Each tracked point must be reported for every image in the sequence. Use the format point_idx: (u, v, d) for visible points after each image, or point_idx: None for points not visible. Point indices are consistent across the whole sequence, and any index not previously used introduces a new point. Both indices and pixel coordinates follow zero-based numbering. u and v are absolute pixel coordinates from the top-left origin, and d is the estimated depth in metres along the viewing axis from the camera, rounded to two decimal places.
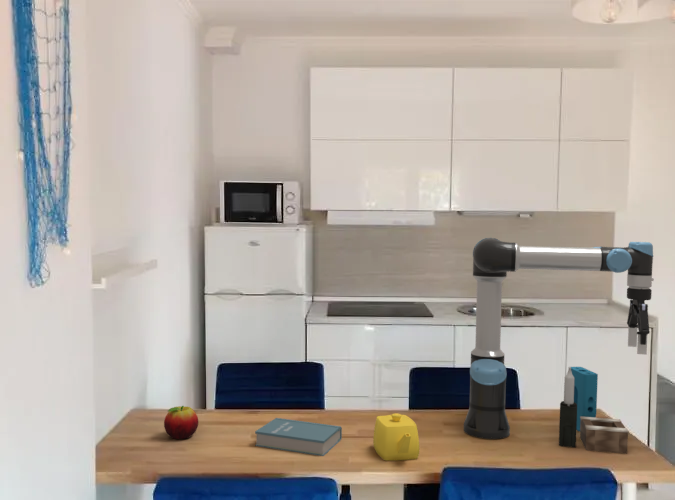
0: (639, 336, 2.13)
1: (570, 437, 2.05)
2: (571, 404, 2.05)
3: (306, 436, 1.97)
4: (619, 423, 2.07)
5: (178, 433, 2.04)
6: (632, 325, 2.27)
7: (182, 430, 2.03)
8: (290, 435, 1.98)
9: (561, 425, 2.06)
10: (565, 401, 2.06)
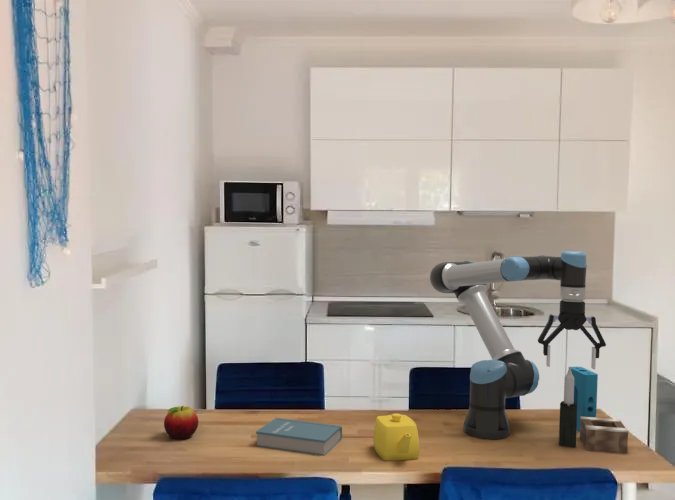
0: None
1: (570, 437, 2.05)
2: (571, 404, 2.05)
3: (307, 435, 1.98)
4: (619, 423, 2.07)
5: (178, 433, 2.04)
6: None
7: (182, 430, 2.03)
8: (291, 435, 1.98)
9: (561, 425, 2.06)
10: (565, 401, 2.06)
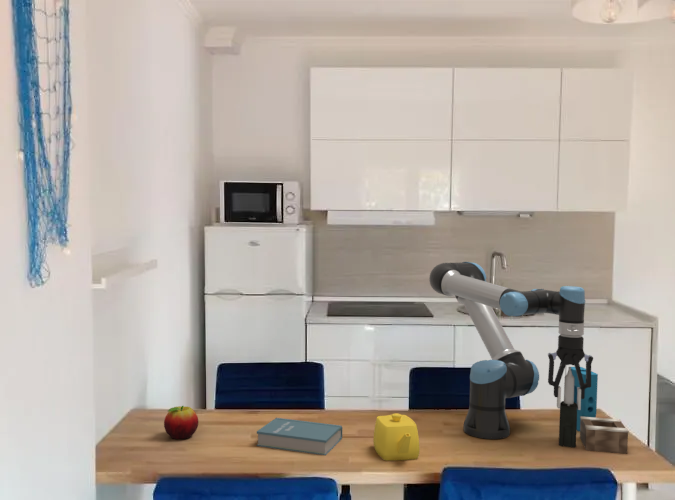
0: None
1: (570, 437, 2.05)
2: (571, 404, 2.05)
3: (308, 435, 1.98)
4: (619, 423, 2.07)
5: (178, 433, 2.04)
6: None
7: (182, 430, 2.03)
8: (292, 435, 1.98)
9: (561, 425, 2.06)
10: (565, 401, 2.06)
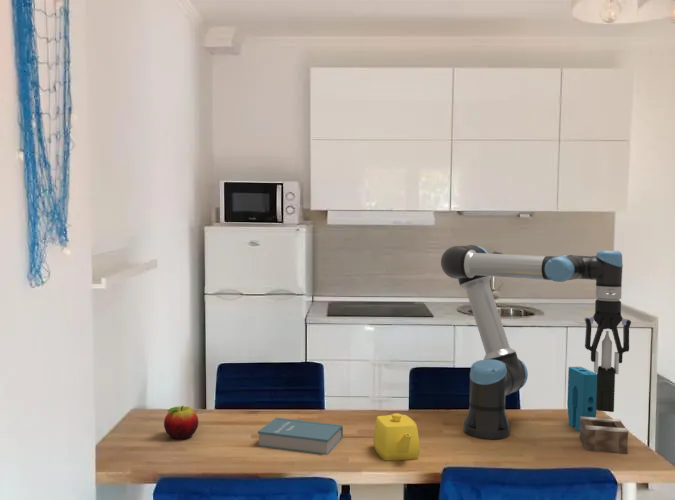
0: None
1: (608, 401, 2.04)
2: (609, 368, 2.04)
3: (310, 435, 1.98)
4: (619, 423, 2.07)
5: (178, 433, 2.04)
6: None
7: (182, 430, 2.03)
8: (293, 434, 1.98)
9: (599, 389, 2.05)
10: (603, 365, 2.05)
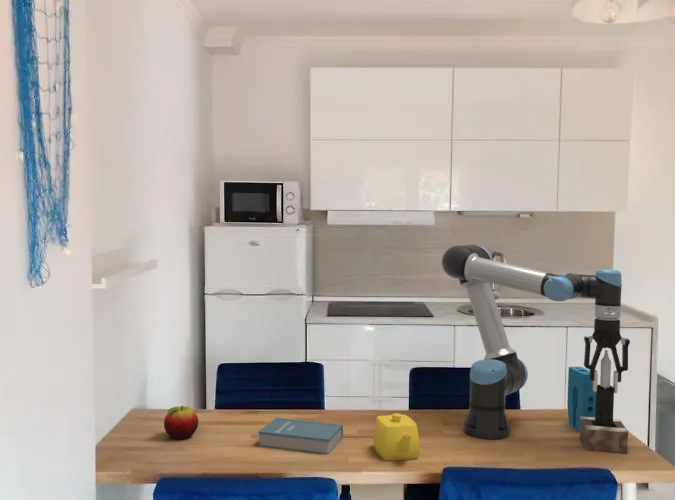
0: None
1: (607, 420, 2.04)
2: (608, 387, 2.04)
3: (310, 435, 1.98)
4: (619, 423, 2.07)
5: (178, 433, 2.04)
6: None
7: (182, 430, 2.03)
8: (294, 434, 1.98)
9: (598, 408, 2.05)
10: (602, 384, 2.06)
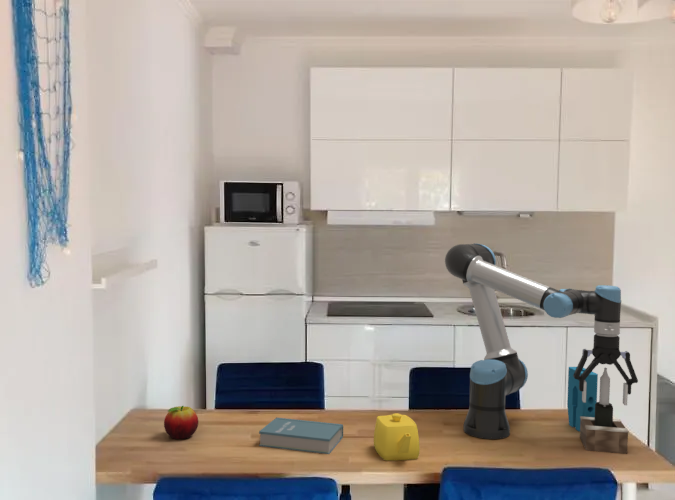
0: None
1: None
2: (607, 405, 2.05)
3: (311, 434, 1.99)
4: (619, 423, 2.07)
5: (178, 433, 2.04)
6: None
7: (182, 430, 2.03)
8: (295, 434, 1.99)
9: None
10: (601, 402, 2.06)
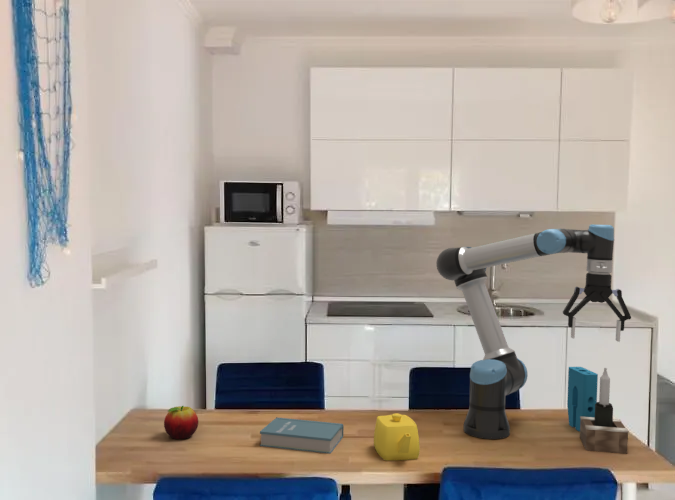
0: None
1: None
2: (607, 405, 2.05)
3: (312, 434, 1.99)
4: (619, 423, 2.07)
5: (178, 433, 2.04)
6: (620, 318, 2.06)
7: (182, 430, 2.03)
8: (296, 434, 1.99)
9: None
10: (601, 402, 2.06)
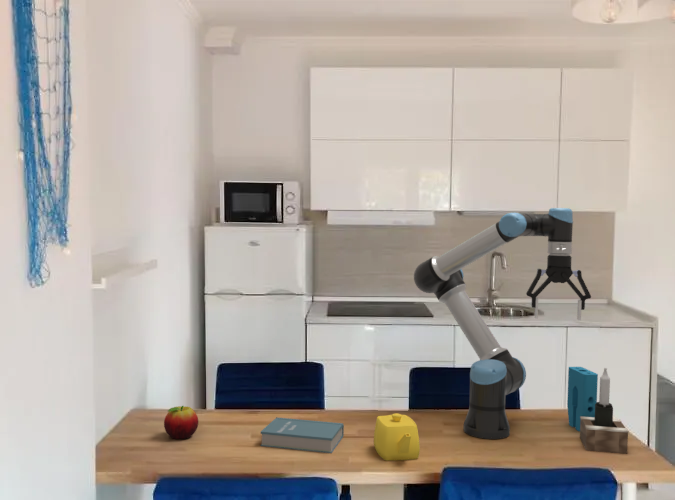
0: None
1: None
2: (607, 405, 2.05)
3: (313, 434, 1.99)
4: (619, 423, 2.07)
5: (178, 433, 2.04)
6: (581, 297, 2.14)
7: (182, 430, 2.03)
8: (297, 434, 1.99)
9: None
10: (601, 402, 2.06)
